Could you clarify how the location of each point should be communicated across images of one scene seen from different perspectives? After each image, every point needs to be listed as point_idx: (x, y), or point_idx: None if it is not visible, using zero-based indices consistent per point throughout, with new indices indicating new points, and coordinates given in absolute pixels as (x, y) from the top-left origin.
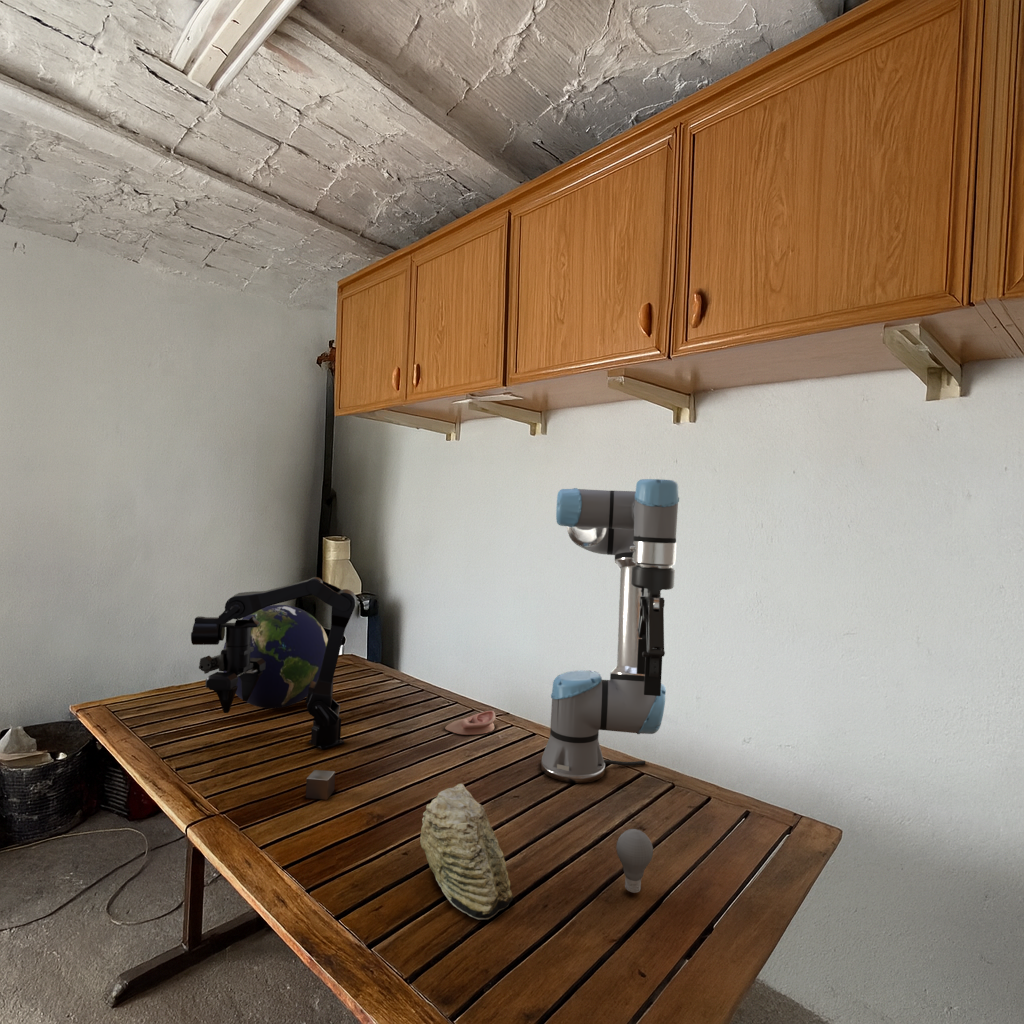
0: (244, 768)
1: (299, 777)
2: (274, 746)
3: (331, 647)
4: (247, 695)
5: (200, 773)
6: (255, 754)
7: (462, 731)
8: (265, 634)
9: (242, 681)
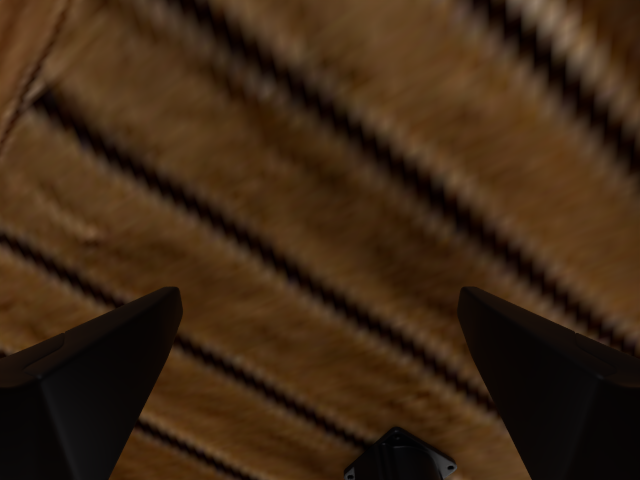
0: None
1: (151, 475)
2: (350, 341)
3: None
4: (474, 347)
5: (53, 213)
6: (266, 313)
7: None
8: None
9: (586, 391)
